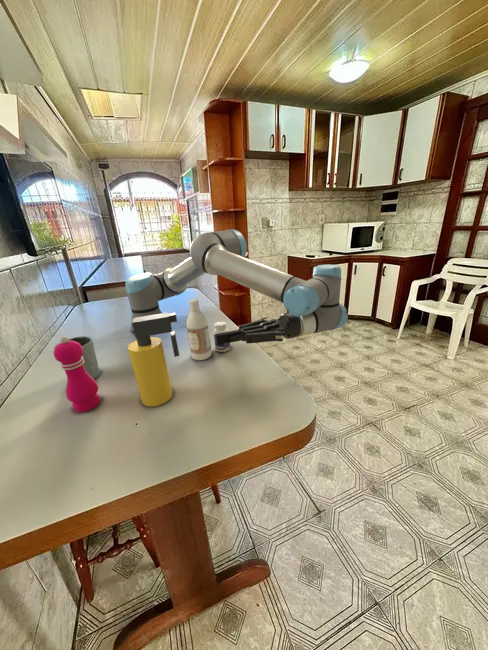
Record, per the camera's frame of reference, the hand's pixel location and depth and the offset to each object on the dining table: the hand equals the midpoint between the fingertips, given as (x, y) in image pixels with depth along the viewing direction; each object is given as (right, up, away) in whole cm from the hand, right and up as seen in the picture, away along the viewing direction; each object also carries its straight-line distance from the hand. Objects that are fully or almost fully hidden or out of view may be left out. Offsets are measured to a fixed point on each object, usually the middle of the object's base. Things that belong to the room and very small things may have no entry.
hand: (216, 339), depth 71 cm
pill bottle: (0, -5, +24) cm, 25 cm away
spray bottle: (-14, -15, +1) cm, 21 cm away
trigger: (-10, -4, -2) cm, 11 cm away
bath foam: (-7, -7, +20) cm, 23 cm away
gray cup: (-43, -13, +13) cm, 47 cm away
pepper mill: (-34, -18, 0) cm, 39 cm away
